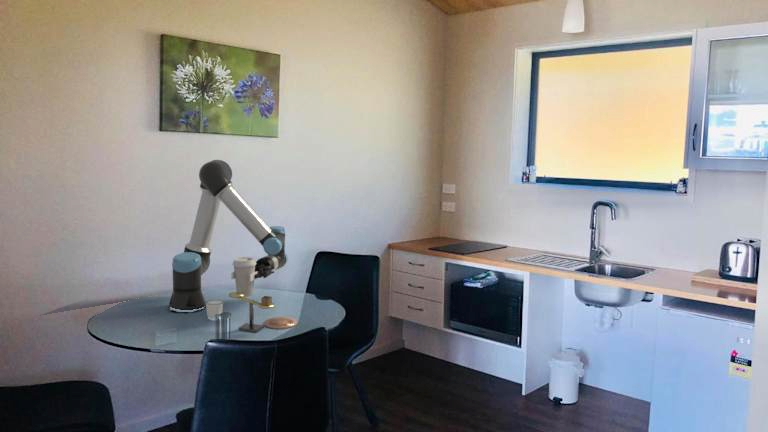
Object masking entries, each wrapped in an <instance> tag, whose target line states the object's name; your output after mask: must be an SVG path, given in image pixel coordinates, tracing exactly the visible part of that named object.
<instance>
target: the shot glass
mask: <svg viewBox="0 0 768 432" xmlns="http://www.w3.org/2000/svg"><path fill="white" fill-rule="evenodd" d="M205 306H206V307H205V309H206V317H207V316H208V317H209V318H214V317H215V315H216V314H221V313H222V314H223V306H224V301H223V300H220V299H219V300H218V299H212V300H207V301H205Z"/></svg>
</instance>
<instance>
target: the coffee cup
mask: <svg viewBox="0 0 768 432" xmlns="http://www.w3.org/2000/svg"><path fill="white" fill-rule="evenodd" d="M256 261H257V260H255V258H254V257H251V256H241V257H237V258H236V257H235V258H234V260H233V262H232V266H233V270H234V271H233V272H235V279H234V280H235V289H236V292H242V293H244V296H243V297H244V298H247V297H252V296H253V295H254V286H255V280H253V281H251V282H250V281H249V275H250V274H252V273H254V272H255V265H256Z"/></svg>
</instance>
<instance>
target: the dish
mask: <svg viewBox="0 0 768 432" xmlns="http://www.w3.org/2000/svg"><path fill="white" fill-rule="evenodd" d="M297 325H298V322H297V319H295V318H293V317H289V316H275V317H270V318H267V319H265V320H264V327H266V328H269V329H274V330H286V329H291V328H295V326H297Z"/></svg>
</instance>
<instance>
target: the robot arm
mask: <svg viewBox="0 0 768 432" xmlns="http://www.w3.org/2000/svg"><path fill="white" fill-rule="evenodd" d="M198 178H199V181H200V185H199V189H200V190H201V195H200V198H199V199H200V200H199V203H198V207H197V211H196V214H195V220H194V223H193V227H192V231H191V235H190V239H189V242H187V243H185V244H184V249H183V252H181V253H178V254H176V255H174V256H173V257H172V263H171V266H172V294H171V297H170V299H169V303H168V307H169V306H170V307H172V308H175V309H180V310H193V309H199V308H202V307H204V306H206V300H205V297H204V294H203V291H202V276H203V274H205V273H206V271H208V269H209V267H210V265H211V254H212V249H211V247H210V243H211V239H212V236H213V232H214V228H215V225H216V221H217V216H218V212H219V208H220V203H221V202H222V203H223V205H225V207H226V208H227V209H228V210H229V211H230V213H232V214H233V215H234V217H235V218H236V219H238V221H239V222H240V224H242V225H243V226H244V227H245V229H246V230H248V232H249V233H250V234H251V235H252V236H253V237H254V238H255V239H256V241H257V242H258V243H259V244H260V246H262V247H263V252H265V254H267V255H265V256H263V257H261V258H258V260H255V261H256V265H255V272H254V273H252V274H250V275H249V281H250V282H251V281H253V280H254V281H255V280H257V279H261V278H263V279H266V278H267V277H269V276H271V275H272V274H274V273H275V271H277V270H279V269H281V268H283V267H284V266H286V264H287V263H288V261H289V257H288V254H287V253H286V252H285V249H286V248H285V247H286V245H285V244H286V228H285V226H281V225H273V226H269V225H268V224H267V223H266V222H265V221H264V219H262V217H261V216H260V215H259V214H258V213H257V212H256V211H255V210H254V208H253V207H252V206H251V205H250V204H249V203H248V202H247V201H246V200H245V198H244V197H243V196H242V195H241V194H240V193H239V191H237V190H236V189H235V187H233V182H232V181H231V180H232V179H233V170H232V167H231V165H230V164H229V163H228V162H227V161H224V160H222V159H213V160H211V161H207V162H205V163H204V164H203V165H202V166H201V167H200V169H199V173H198ZM230 275H231V279H230V280H235V272H234V271H232V272H231V274H230Z"/></svg>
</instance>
